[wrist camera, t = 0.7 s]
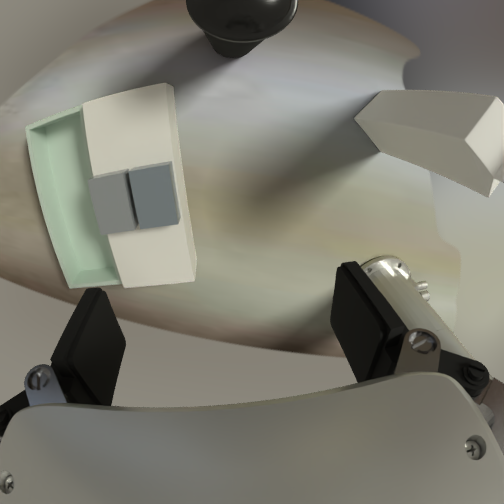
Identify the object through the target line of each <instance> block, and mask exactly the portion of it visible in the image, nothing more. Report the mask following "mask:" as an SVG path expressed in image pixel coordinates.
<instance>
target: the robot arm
mask: <svg viewBox="0 0 504 504" xmlns="http://www.w3.org/2000/svg"><path fill="white" fill-rule="evenodd" d="M426 288H427V282H426V281H421V282H418V283H416V282H414V281H413V280H412V278H411V273H410V269H409V268H408V266H407V265H406V264H405V263H404V262H403V261H402V260H401V259H399V258H397V257H394V256H383V257H378V258H375V259H373V260H371V261H369V262H367V263H366V264H364V265H363V266H361V267H360V266H359V264H358V263H357V262H356V261H353V262H345V263H342V264H341V267H338V268H337V272H336V280H335V288H334V296H333V303H332V310H331V317H330V322H331V326H332V328H333V330H334V332H335V334H336V336H337V339H338V341H339V343H340V345H341V347H342V349H343V351H344V353H345V356H346V358H347V360H348V362H349V364H350V366H351V368H352V371H353V373H354V375H355V377H356V380H357V382H358V383H355V384H351V385H347V386H343V387H338V388H333V389H329V390H324V391H319V392H314V393H309V394H303V395H297V396H292V397H286V398H279V399H272V400H265V401H257V402H248V403H239V404H228V405H217V406H200V407H171V408H170V407H169V408H149V407H147V408H146V407H119V406H111V404H112V399H113V395H114V390H115V386H116V382H117V377H118V374H119V369H120V366H121V362H122V358H123V354H124V350H125V347H126V341H125V337H124V335H123V333H122V331H121V328H120V326H119V324H118V321H117V319H116V317H115V314H114V312H113V309H112V307H111V304H110V302H109V299H108V297H107V294H106V292H105V291H102V289H101V288H88V289H86V291H85V292H84V294H83V296H82V298H81V300H80V301H79V303H78V305H77V307H76V309H75V311H74V312H73V314H72V316H71V318H70V320H69V322H68V324H67V326H66V328H65V330H64V332H63V334H62V336H61V338H60V340H59V342H58V344H57V346H56V348H55V350H54V353H53V355H52V357H51V359H50V360H51V361H52V363H51V366H49V365H46V364H42V365H38V366H35V367H34V368H32V369H31V370H30V371H29V372H28V373H27V375H26V377H25V381H24V385H25V390H24V391H22V392H21V393H19V394H18V395H16V396H15V397H13V398H12V399H10V400H8V401H7V402H5V403H4V404H2V405H1V406H0V504H504V384H503V383H502V382H500V381H499V380H497V379H495V378H493V377H492V376H491V375H490V374H489V372H488V370H487V368H486V367H485V366H484V365H483V364H482V363H480V362H478V361H476V360H475V359H474V358H473V357H472V355H471V354H470V353H469V352H468V351H467V349H466V348H465V347H464V346H463V344H462V343H461V342H460V341H459V340H458V338H457V337H456V336H455V335H454V333H453V332H452V331H451V330H450V329H449V327H448V326H447V325H446V324H445V322H444V321H443V320H442V319H441V318H440V316H439V315H438V314H437V313H436V312H435V311H434V309H433V308H432V307H431V306H430V305H429V304H428V302H427V301H429V299H430V295H429V292H428V291H427V290H426V291H421V292H418V290H423V289H426Z"/></svg>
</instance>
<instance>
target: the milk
mask: <svg viewBox="0 0 504 504" xmlns="http://www.w3.org/2000/svg"><path fill="white" fill-rule="evenodd" d="M354 120H355V121H356V122H357V123H358V124H359V125H360V127H361V128H362V129H363V130H364V131H365V133H366V134H367V135H368V136H369V138H370V139H371V140H372V141H373V143H374V144H375V145H376V147H377V148H378V149H379V150H380V152H382V153H385V154H388V155H391V156H394V157H396V158H399V159H402V160H405V161H407V162H410V163H412V164H415V165H418V166H420V167H423V168H425V169H427V170H430V171H432V172H435V173H437V174H439V175H442V176H444V177H446V178H448V179H451V180H453V181H455V182H457V183H459V184H461V185H464V186H466V187H468V188H470V189H472V190H474V191H476V192H478V193H480V194H482V195H484V196H486V197H489V196H490V195H491V194H492V192H493V191H494V189H495V188H496V187H497V185H498V184H499V182H500V181H501V182H503V183H504V104H503V103H502V102H501V101H500V100H499V98H498V97H495V96H488V95H481V94H473V93H462V92H450V91H449V92H448V91H431V90H428V91H427V90H382V91H381V92H380V93H379V94H378V95H377V96H376V97H375V98H374V99H373V100H372V101H371V102H370V103H369V104H368V105H367V106H366V107H365V108H364V109H363V110H362V111H361V112H359V113H358V114H357V115H356V116H355V118H354Z"/></svg>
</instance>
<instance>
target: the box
mask: <svg viewBox="0 0 504 504" xmlns="http://www.w3.org/2000/svg"><path fill="white" fill-rule="evenodd" d="M25 128H26V136H27V143H28V149H29V155H30V160H31V165H32V170H33V175H34V180H35V184H36V189H37V193H38V197H39V201H40V204H41V208H42V212H43V215H44V219H45V222H46V225H47V229H48V232H49V235H50V238H51V241H52V244H53V247H54V250H55V253H56V255H57V258H58V261H59V263H60V266H61V269H62V271H63V274H64V276H65V279H66V281H67V284H68V286H69V288H81V287H93V286H104V285H116V284H122V281H121V278H120V275H119V272H118V268H117V265H116V262H115V259H114V256H113V252H112V249H111V246H110V242H109V239H108V235H107V234H106V235H101V234H100V230H99V227H98V223H97V219H96V215H95V211H94V207H93V203H92V199H91V195H90V190H89V186H88V181H87V180H89V179H90V178H92V177H93V172H92V166H91V161H90V155H89V149H88V143H87V137H86V129H85V122H84V114H83V105H80V106H77V107H74V108H71V109H68V110H65V111H63V112H60V113H57V114H55V115H52V116H49V117H47V118H44V119H42V120H40V121H37V122H35V123H32V124H30V125H28V126H26V127H25Z"/></svg>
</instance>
